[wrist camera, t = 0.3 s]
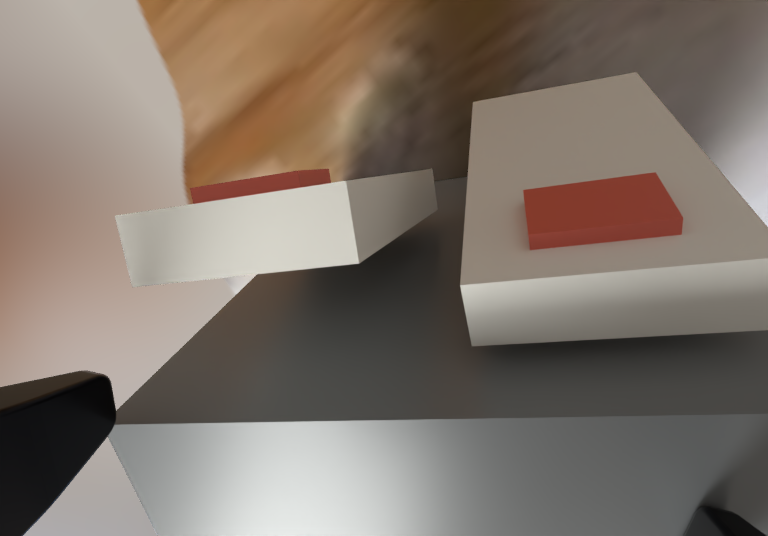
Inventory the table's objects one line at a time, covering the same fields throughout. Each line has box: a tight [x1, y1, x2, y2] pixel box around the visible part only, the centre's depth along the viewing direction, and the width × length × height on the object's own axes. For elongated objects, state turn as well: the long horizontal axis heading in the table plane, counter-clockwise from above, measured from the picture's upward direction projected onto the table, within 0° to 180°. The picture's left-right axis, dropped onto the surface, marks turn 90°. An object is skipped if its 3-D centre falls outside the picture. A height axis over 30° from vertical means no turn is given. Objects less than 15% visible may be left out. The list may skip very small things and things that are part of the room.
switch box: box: [108, 177, 768, 536], centre depth 14 cm, size 5×11×14 cm, turn 101°
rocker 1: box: [115, 169, 438, 287], centre depth 12 cm, size 2×4×8 cm, turn 101°
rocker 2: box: [460, 72, 768, 346], centre depth 10 cm, size 2×4×8 cm, turn 102°
